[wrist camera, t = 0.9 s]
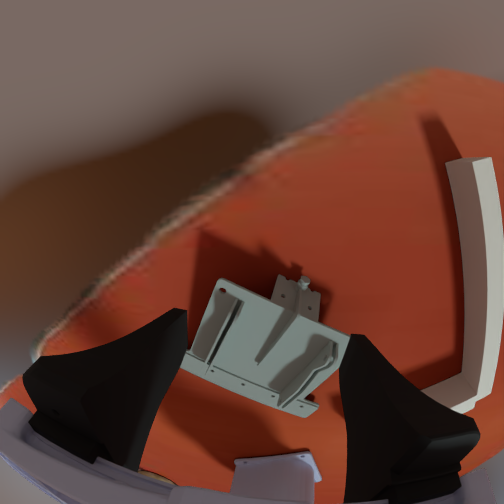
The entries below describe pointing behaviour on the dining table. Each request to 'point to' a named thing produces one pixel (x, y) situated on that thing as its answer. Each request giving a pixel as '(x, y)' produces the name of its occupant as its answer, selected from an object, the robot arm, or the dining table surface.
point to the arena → (476, 282)
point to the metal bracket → (266, 344)
